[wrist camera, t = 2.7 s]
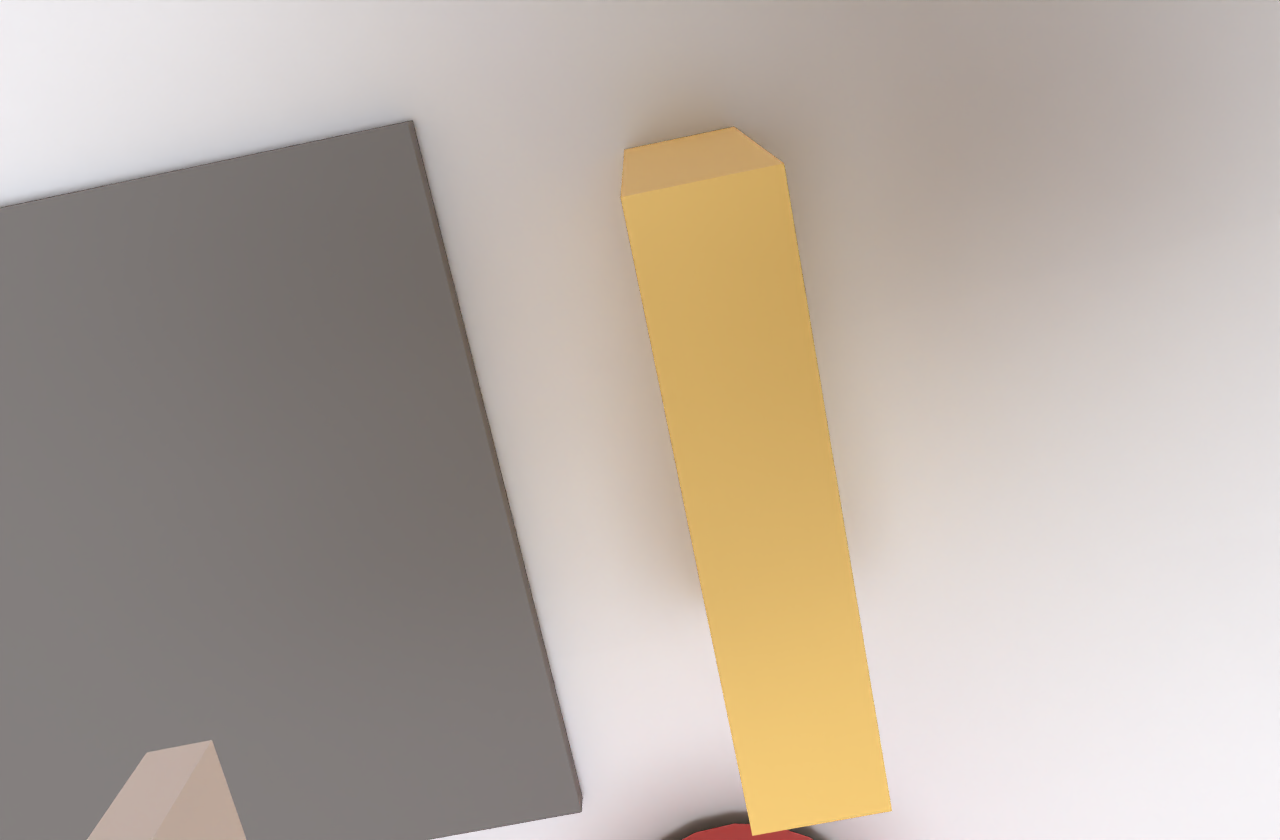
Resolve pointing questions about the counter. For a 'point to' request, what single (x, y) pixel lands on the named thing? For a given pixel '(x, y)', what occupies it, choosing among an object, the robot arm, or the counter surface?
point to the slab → (756, 473)
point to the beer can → (743, 834)
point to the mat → (260, 509)
